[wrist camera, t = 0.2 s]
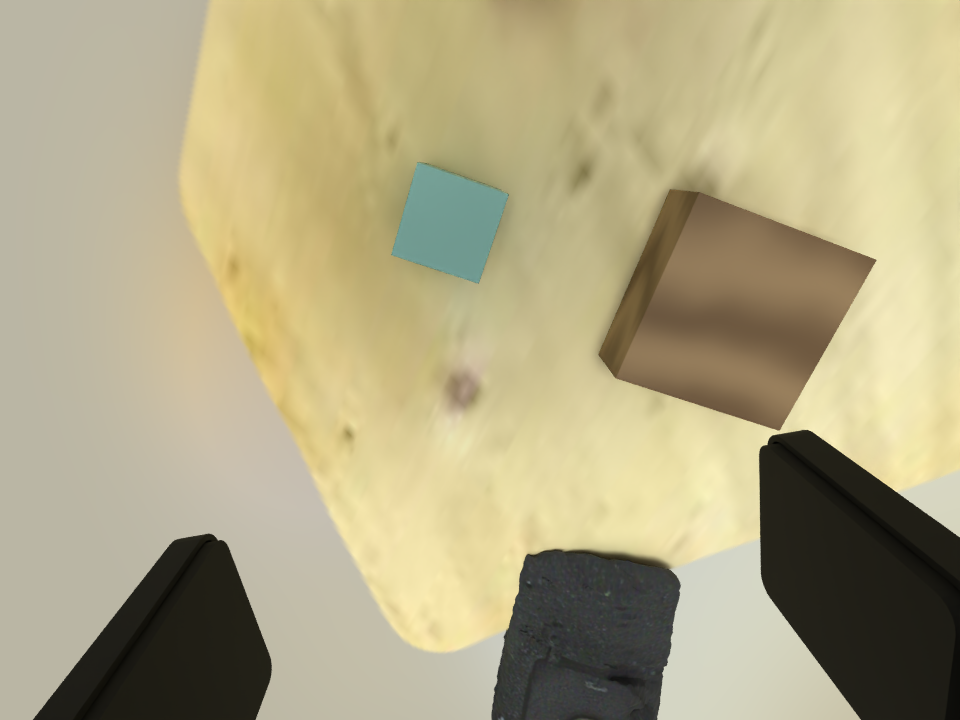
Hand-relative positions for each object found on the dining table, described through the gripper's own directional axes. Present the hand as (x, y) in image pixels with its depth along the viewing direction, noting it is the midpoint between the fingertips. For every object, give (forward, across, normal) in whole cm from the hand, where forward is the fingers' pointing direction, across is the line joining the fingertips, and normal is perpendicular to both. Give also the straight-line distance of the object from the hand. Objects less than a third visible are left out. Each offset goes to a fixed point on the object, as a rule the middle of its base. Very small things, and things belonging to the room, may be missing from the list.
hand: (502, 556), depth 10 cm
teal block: (+29, 0, -4) cm, 30 cm away
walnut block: (+30, -16, +5) cm, 34 cm away
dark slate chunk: (+31, -4, +35) cm, 47 cm away
